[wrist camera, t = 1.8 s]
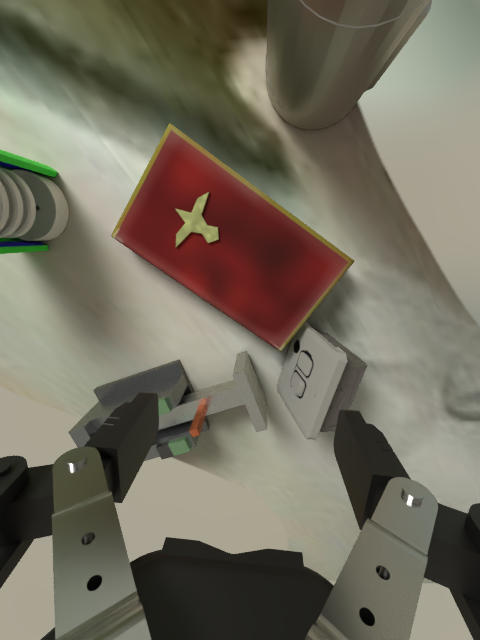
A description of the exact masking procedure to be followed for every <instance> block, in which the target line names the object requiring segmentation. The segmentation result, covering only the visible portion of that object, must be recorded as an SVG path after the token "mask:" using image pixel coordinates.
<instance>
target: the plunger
mask: <svg viewBox="0 0 480 640" xmlns="http://www.w3.org/2000/svg"><path fill="white" fill-rule="evenodd" d="M233 377H234V380H232V381H228V382H225V383H222V384H219V385H216V386H213V387H209V388H206V389H203V390H200V391H197V392H193V393H190V394H187V395H184V396H182V398H181V400H180V402H179V404H178V406H177V408H174V409H172V411H171V412H170V413H167V414H163V415H160V416H159V429H158V430H160V429H163V428H167V427H170V426H173V425H177V424H180V423H183V422H187V421H190V420H193V422H192V424H191V427H190V430H189V431H190V434H191V436H192V437H195V436H199V435H200V433H201V429H202V426H203V423H204V420H205V416H207V415H210V414H214V413H217V412H221V411H224V410H227V409H231V408H234V407H237V406H241V405H244V404H245V406H246V408H247V411H248V413H249V415H250V418H251V420H252V423H253V425H254V427H255V430H256V432H259V431H263V430H266V429H267V408H266V398H265V396H264V393H263V391H262V388H261V386H260V383H259V381H258V378H257V376H256V373H255V371H254V368H253V366H252V363H251V361H250V358H249V356H248V353H247V351H245V352H242V353H239V354H237V358H236V362H235V367H234V372H233Z"/></svg>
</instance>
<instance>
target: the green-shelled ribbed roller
mask: <svg viewBox="0 0 480 640" xmlns="http://www.w3.org/2000/svg"><path fill="white" fill-rule="evenodd" d="M33 171H35V172H39V173H42V174H46V175H49V176H52V177H56V175H57V173H58V172H56V171H55V170H54V169H52V168H50V167H48V166H46V165H44V164H41V163H38V162H35V161H32V160H29V159H26V158H23V157H20V156H17V155H14V154H12V153H9V152H6V151H3V150H0V254H4V253H19V252H34V251H49V250H48V245H43V243H41V242H35V241H45V240H51V239H54V238H56V237H58V236H59V235H60V234H61V233H62V232H63V231H64V229H65V227H66V225H67V222H68V217H69V210H68V204H67V201H66V198H65V196H64V194H63V193H62V191H61V190H60V188H59V187H58V186H57V185H56V184H55V183H54V182H53V181H51V180H50V179H48V178H47V177H45V176H42V175H39V174H36V173H33ZM36 206H39V208H40V209H39V210H38V211H37V210H36Z"/></svg>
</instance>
